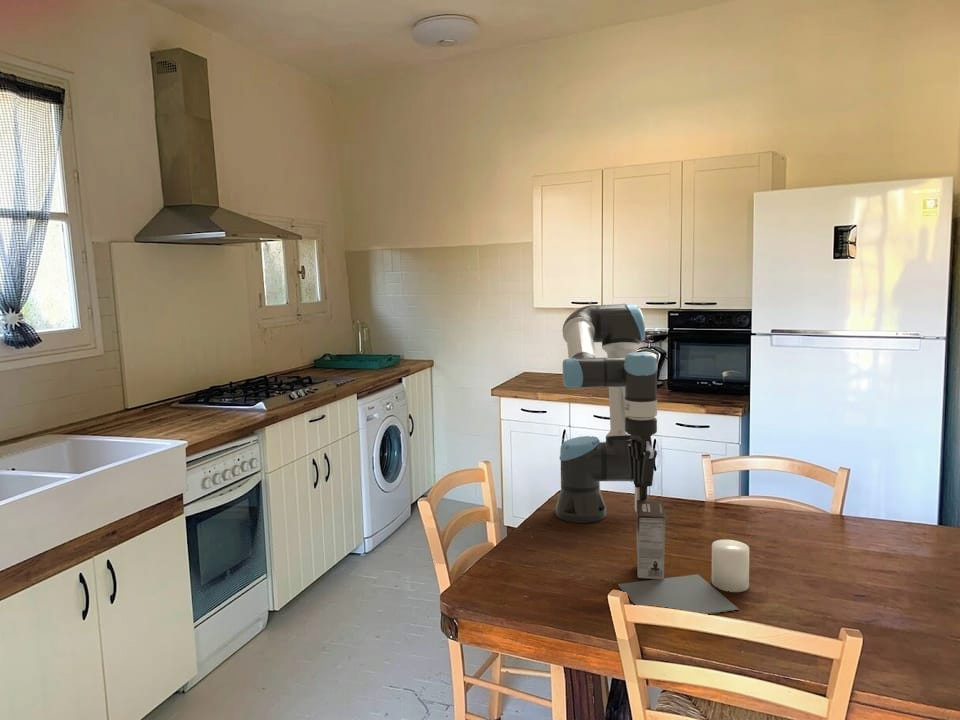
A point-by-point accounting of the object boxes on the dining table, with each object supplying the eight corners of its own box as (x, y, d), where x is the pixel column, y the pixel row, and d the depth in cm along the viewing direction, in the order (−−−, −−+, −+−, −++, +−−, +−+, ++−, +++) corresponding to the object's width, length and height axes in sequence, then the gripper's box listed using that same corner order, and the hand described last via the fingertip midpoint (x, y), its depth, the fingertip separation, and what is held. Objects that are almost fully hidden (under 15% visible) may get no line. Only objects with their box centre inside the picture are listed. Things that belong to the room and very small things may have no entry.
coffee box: (635, 559, 162) (636, 498, 158) (662, 560, 160) (663, 499, 157) (637, 578, 153) (637, 515, 150) (665, 580, 152) (666, 516, 148)
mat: (618, 585, 151) (618, 584, 150) (697, 575, 154) (697, 574, 154) (650, 622, 134) (650, 620, 134) (738, 610, 137) (738, 608, 137)
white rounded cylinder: (705, 578, 153) (705, 541, 152) (736, 574, 154) (736, 538, 153) (723, 594, 145) (723, 555, 144) (756, 589, 146) (756, 551, 145)
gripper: (615, 412, 162) (616, 504, 165) (637, 423, 150) (637, 521, 152) (644, 411, 164) (644, 501, 166) (667, 421, 151) (667, 519, 154)
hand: (641, 511), depth 159 cm, fingers closed
